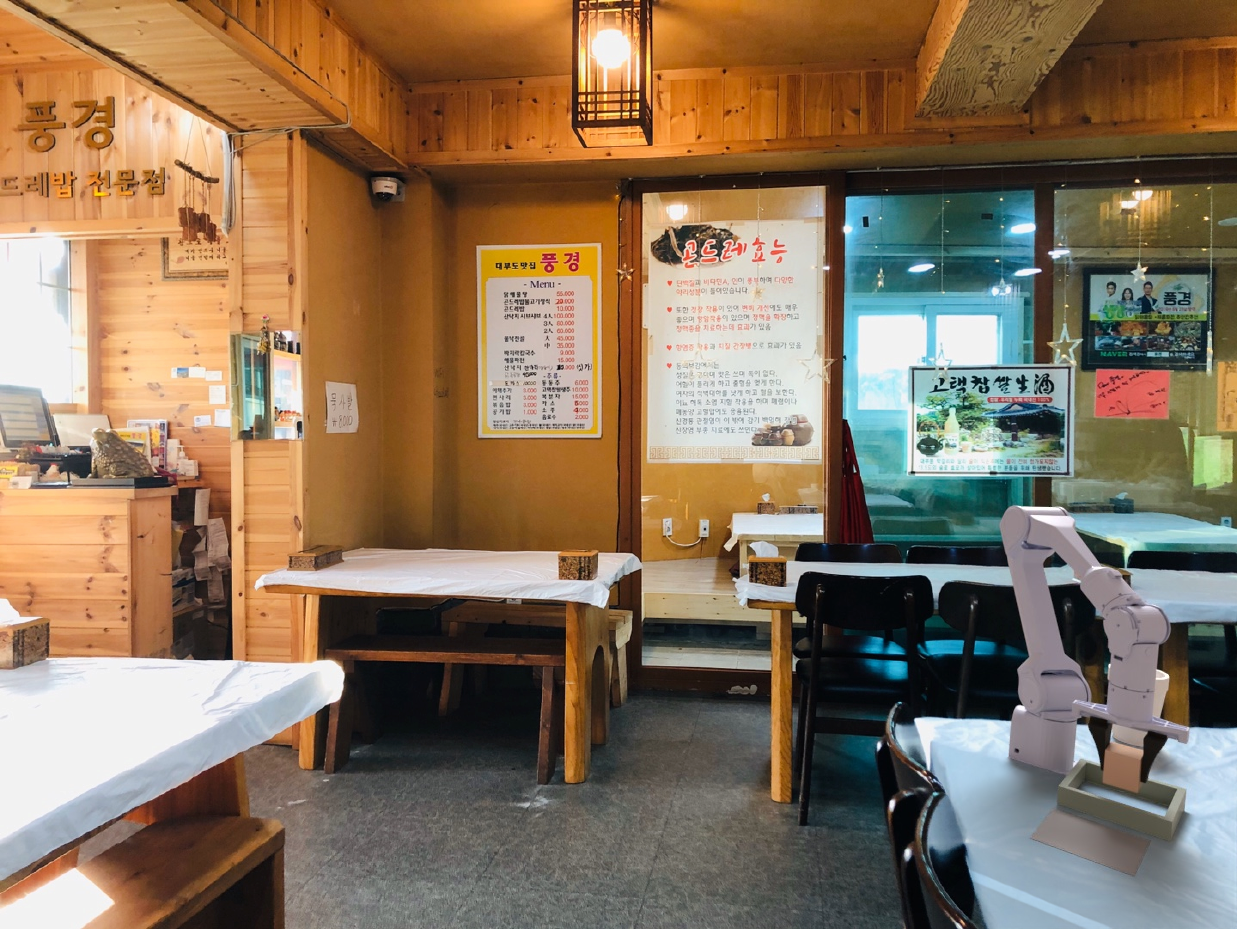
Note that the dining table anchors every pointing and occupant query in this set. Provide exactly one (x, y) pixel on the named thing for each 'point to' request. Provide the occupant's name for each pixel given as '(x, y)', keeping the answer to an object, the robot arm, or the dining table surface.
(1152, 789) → the olive bin
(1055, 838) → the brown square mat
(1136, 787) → the clay block
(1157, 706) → the foam cup
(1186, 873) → the dining table surface
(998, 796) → the dining table surface
